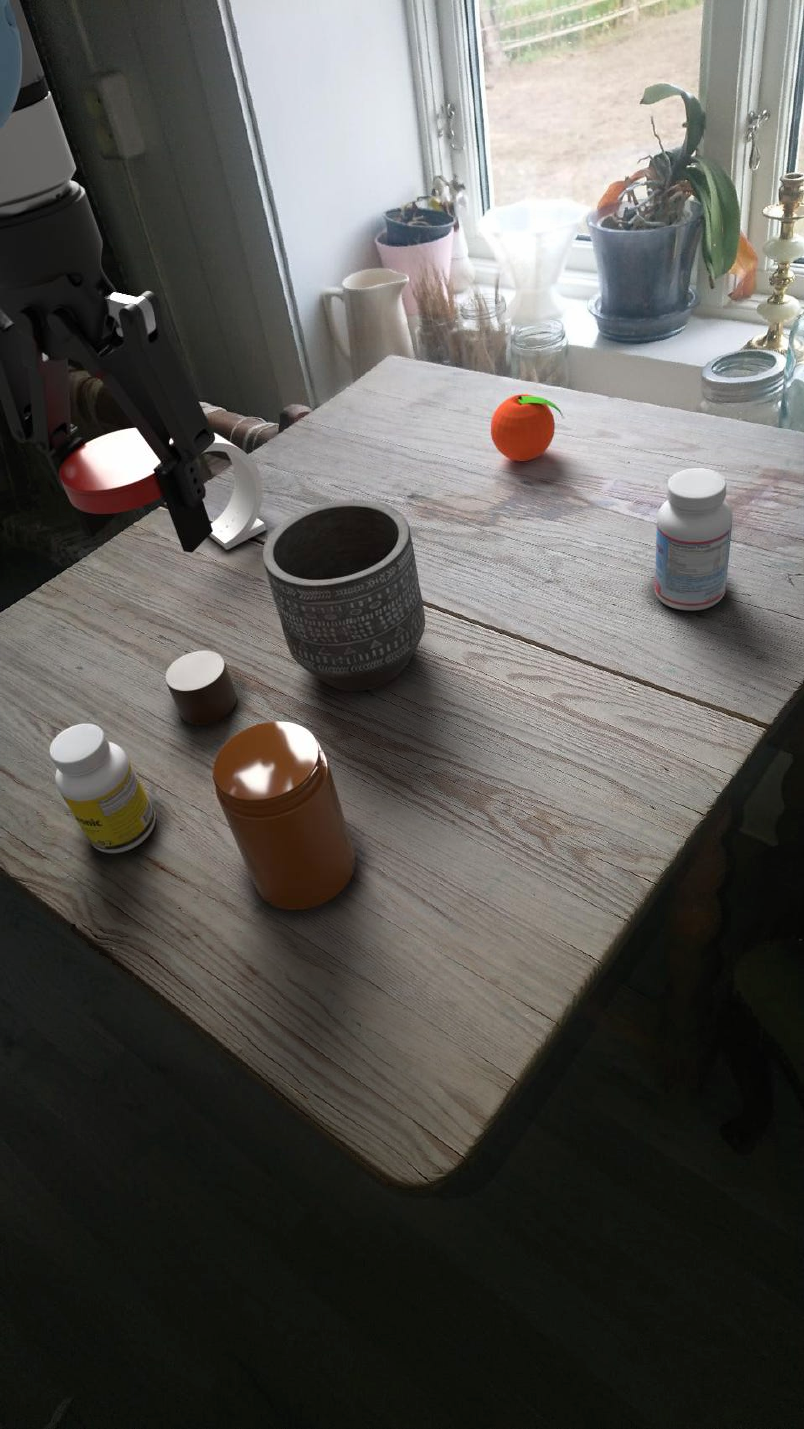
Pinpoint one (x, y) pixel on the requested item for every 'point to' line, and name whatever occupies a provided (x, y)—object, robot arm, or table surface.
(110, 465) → the jam lid
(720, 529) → the pill bottle
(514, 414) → the clementine
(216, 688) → the stand
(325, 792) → the jam jar
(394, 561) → the planter
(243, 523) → the headphone stand
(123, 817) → the supplement bottle
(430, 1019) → the table surface
